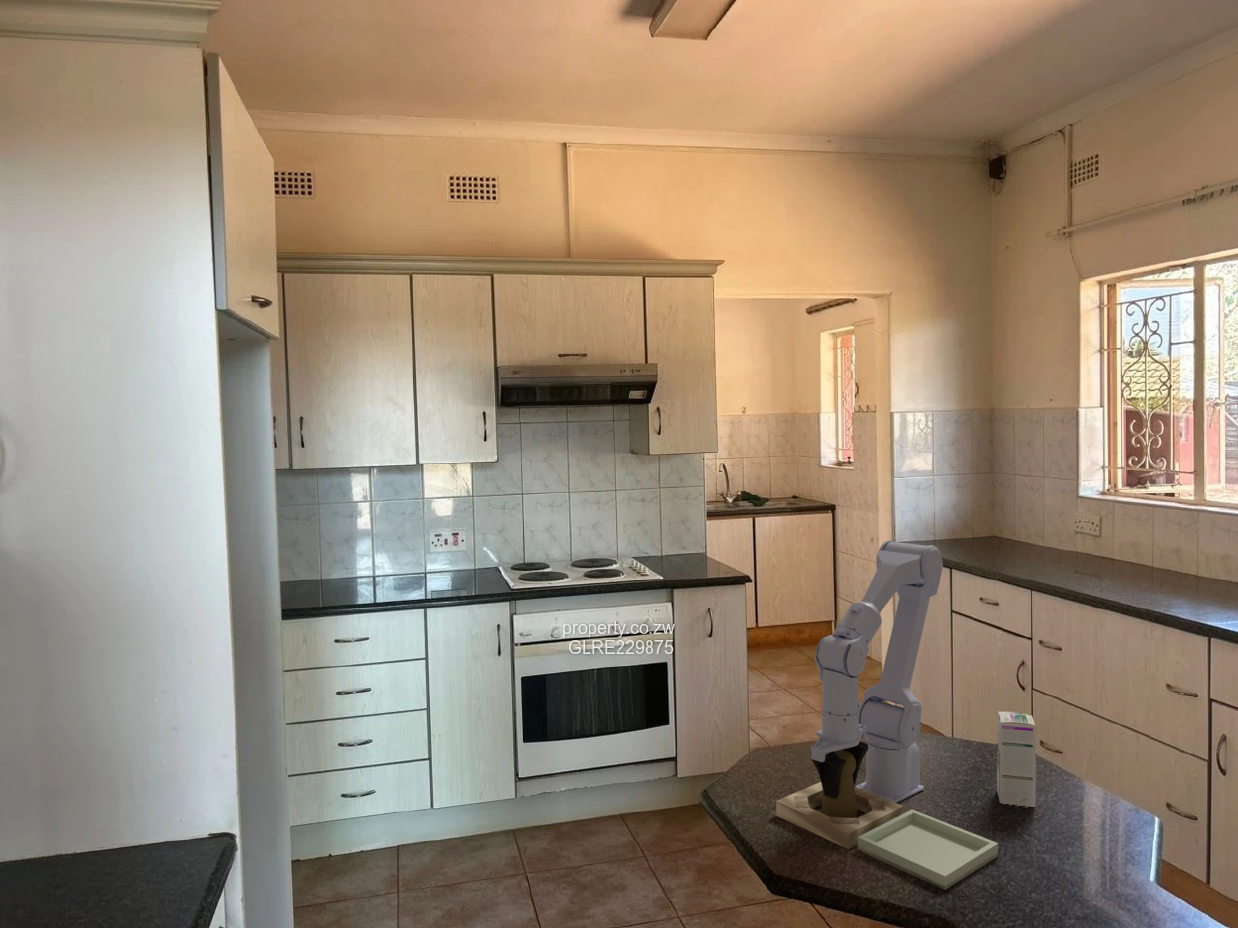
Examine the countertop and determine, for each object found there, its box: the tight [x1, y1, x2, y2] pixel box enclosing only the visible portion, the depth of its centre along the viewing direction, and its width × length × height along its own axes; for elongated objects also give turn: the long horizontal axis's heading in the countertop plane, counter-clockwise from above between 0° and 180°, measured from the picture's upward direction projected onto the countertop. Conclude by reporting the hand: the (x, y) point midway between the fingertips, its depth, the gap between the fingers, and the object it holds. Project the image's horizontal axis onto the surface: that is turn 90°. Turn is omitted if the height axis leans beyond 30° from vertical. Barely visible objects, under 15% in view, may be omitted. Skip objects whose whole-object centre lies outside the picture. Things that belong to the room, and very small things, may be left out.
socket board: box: [775, 781, 904, 850], centre depth 144 cm, size 14×14×2 cm
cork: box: [820, 750, 859, 818], centre depth 144 cm, size 6×6×11 cm
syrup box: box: [996, 711, 1037, 808], centre depth 150 cm, size 6×6×14 cm
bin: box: [857, 808, 999, 891], centre depth 133 cm, size 15×15×2 cm
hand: (839, 790), depth 144 cm, fingers closed on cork, 5 cm apart
